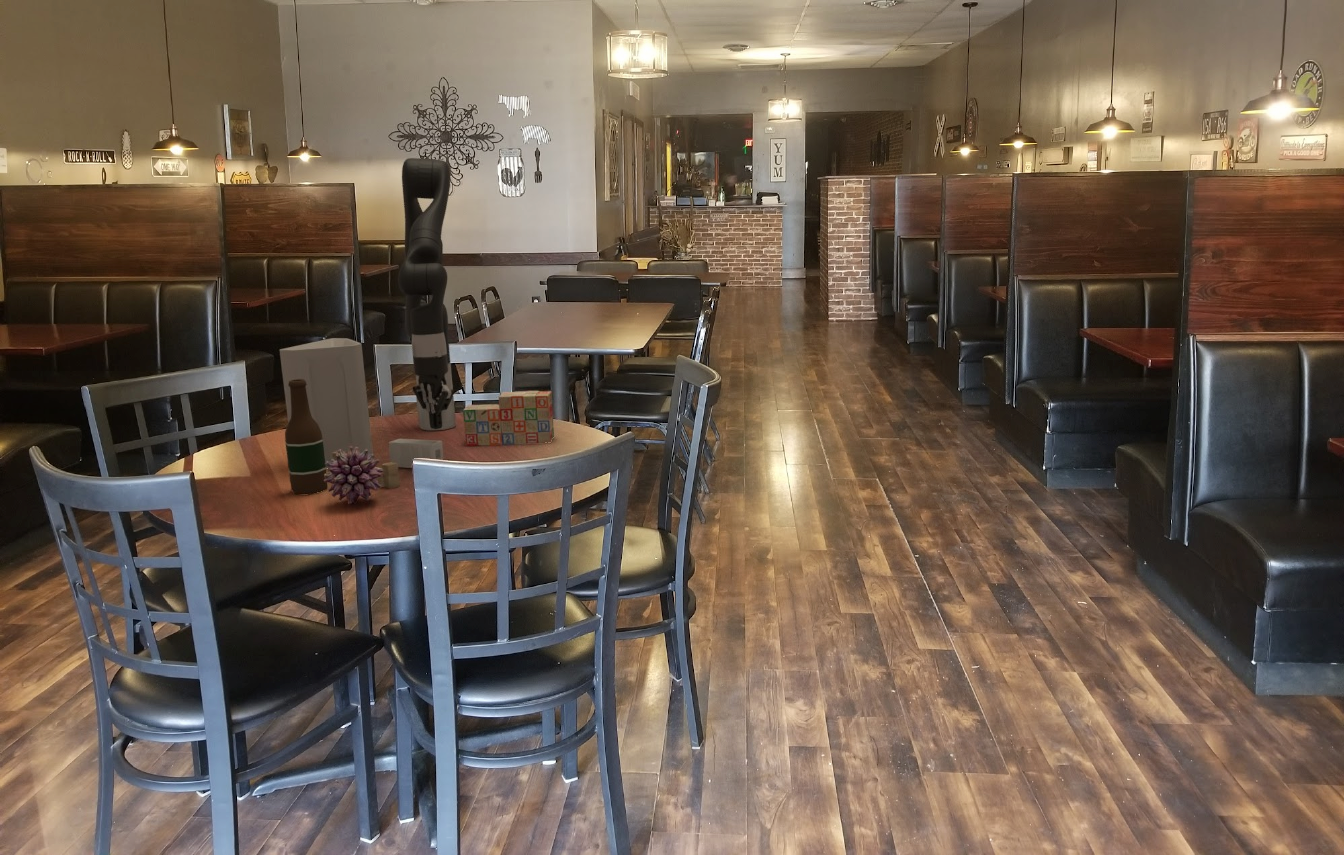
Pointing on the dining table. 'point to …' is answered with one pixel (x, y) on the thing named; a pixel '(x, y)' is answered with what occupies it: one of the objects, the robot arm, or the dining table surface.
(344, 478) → the flower
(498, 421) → the stack of blocks
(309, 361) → the paper bag
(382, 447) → the dining table surface
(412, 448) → the skincare box
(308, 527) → the dining table surface
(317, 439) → the beer bottle
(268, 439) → the dining table surface
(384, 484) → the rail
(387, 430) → the dining table surface
